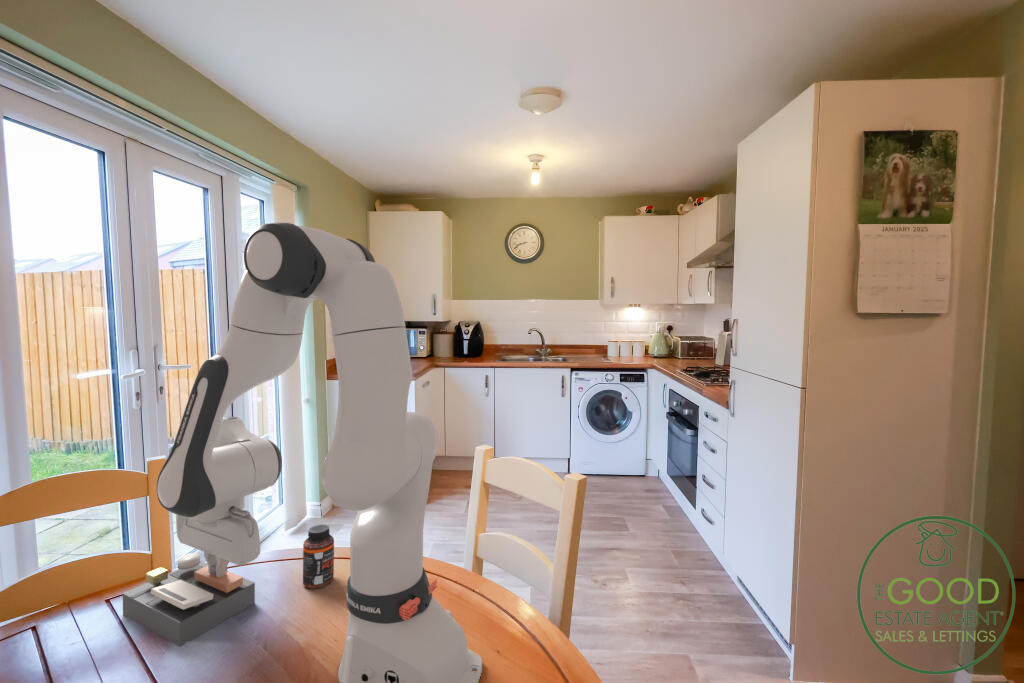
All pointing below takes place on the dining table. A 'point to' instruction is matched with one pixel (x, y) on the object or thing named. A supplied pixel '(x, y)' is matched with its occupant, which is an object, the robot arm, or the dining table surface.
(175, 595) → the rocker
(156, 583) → the slider knob
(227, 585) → the terracotta button
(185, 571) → the panel
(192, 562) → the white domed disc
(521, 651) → the dining table surface
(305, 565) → the supplement bottle
